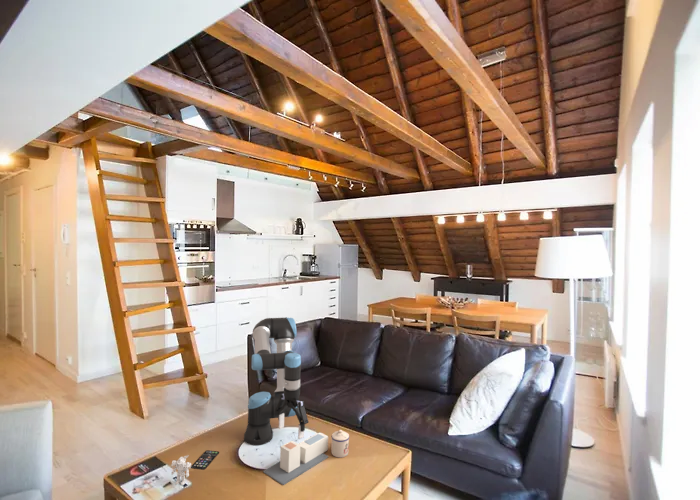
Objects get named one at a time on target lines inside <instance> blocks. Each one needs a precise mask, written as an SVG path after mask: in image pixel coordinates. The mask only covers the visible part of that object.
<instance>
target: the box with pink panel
mask: <svg viewBox="0 0 700 500" xmlns="http://www.w3.org/2000/svg"><path fill="white" fill-rule="evenodd" d="M279 448H280V452H279V453H280V454H279V457H280V458H279V459H280V460H279V462H280V468H282V469H283V470H285V471H286V472H288V473H289V472H291V471H293V470H294V469H296V468H298V467H299V466H300V445H299V443H297V442H295V441H293V440H290V441H289V442H287V443H285V444H282V445H281V446H280V447H279Z"/></svg>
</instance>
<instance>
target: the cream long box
mask: <svg viewBox="0 0 700 500" xmlns="http://www.w3.org/2000/svg"><path fill="white" fill-rule="evenodd" d="M298 444H299V445H300V463H302V464H304V463H307V462H308V461H310V460H312V459H313V458H315V457H317V456H318V455H320V454H322V453H323V454H324V453H325V452H327V451H328V450H329V435H326V434H325V433H323V432H317V433H316V434H314V435H312V436H310V437H309V438H306V439H304V440H303V441H300V442H299V443H298Z"/></svg>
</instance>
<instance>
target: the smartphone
mask: <svg viewBox="0 0 700 500" xmlns="http://www.w3.org/2000/svg"><path fill="white" fill-rule="evenodd" d="M219 454H220V451H217V450H209V449H208V450H205V451H204V452H203V453H202V454H201V455H200V456H199V457H198V458H197V460H195V461H194V463H193V464H191V466H190V467H191V468H190V469H194V470H202V471H204V470H206V469H207V468H208V467H209V466H210V465H211V463H212V462H213V461H214V460H215V458H216V457H217V456H218V455H219Z"/></svg>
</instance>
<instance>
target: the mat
mask: <svg viewBox="0 0 700 500" xmlns="http://www.w3.org/2000/svg"><path fill="white" fill-rule="evenodd" d="M328 458H329V455H327V454H326V453H324V452H323V453H322V454H320V455H318V456H317V457H315V458H313V459H312V460H310V461H308V462H307V463H304V464H302V463H300V466H299V467H298V468H296V469H294V470H293V471H291V472H289V473H288V472H286V471H285V470H283V469H282V468H280V461H279V462H277V463H275V464H273V465H272V466H270V467H268V468H266V469H264V470H263V471H262V472H263V473H264V474H265V475H267V476H269V478H271V479H272V480H275V481H276V482H278V483H279V484H280V485H282V486H285V485H286V484H288V483H290V482H291V481H293V480H294V479H296V478H298V477H299V476H301V475H303V474H304V473H306V472H307V471H309V470H311V468H314V467H316V466H317V465H318V464H320V463H322V462H323V461H325V460H327V459H328Z"/></svg>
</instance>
